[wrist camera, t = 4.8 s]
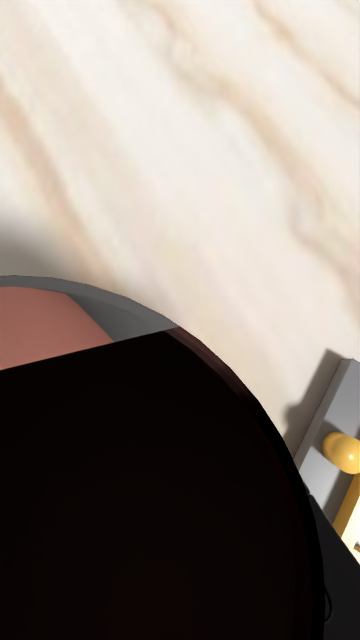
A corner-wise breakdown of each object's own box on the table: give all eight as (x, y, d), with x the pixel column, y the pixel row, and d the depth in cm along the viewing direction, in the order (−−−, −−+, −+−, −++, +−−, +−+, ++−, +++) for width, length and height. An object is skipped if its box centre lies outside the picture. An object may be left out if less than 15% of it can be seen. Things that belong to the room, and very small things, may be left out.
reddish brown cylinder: (130, 456, 14) (-521, 1434, 1) (112, 365, 15) (-358, 361, 2) (220, 433, 14) (534, 1154, 1) (196, 343, 15) (229, 210, 2)
